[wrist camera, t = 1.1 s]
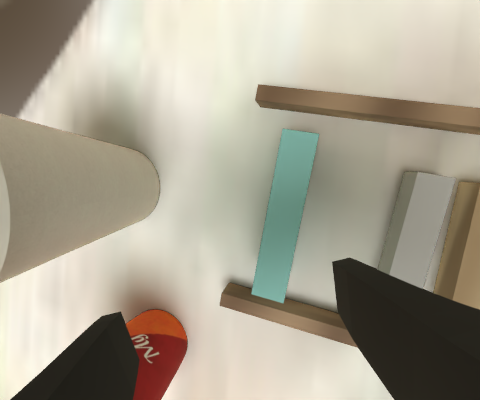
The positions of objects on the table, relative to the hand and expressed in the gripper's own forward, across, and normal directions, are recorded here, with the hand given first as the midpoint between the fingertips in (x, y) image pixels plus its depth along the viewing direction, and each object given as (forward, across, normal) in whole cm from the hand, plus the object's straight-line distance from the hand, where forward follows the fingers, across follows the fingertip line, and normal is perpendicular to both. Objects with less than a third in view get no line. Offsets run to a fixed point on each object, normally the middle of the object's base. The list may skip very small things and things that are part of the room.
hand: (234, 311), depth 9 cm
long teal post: (+11, -5, +1) cm, 12 cm away
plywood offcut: (+7, -15, +5) cm, 17 cm away
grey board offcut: (+8, -12, +4) cm, 15 cm away
